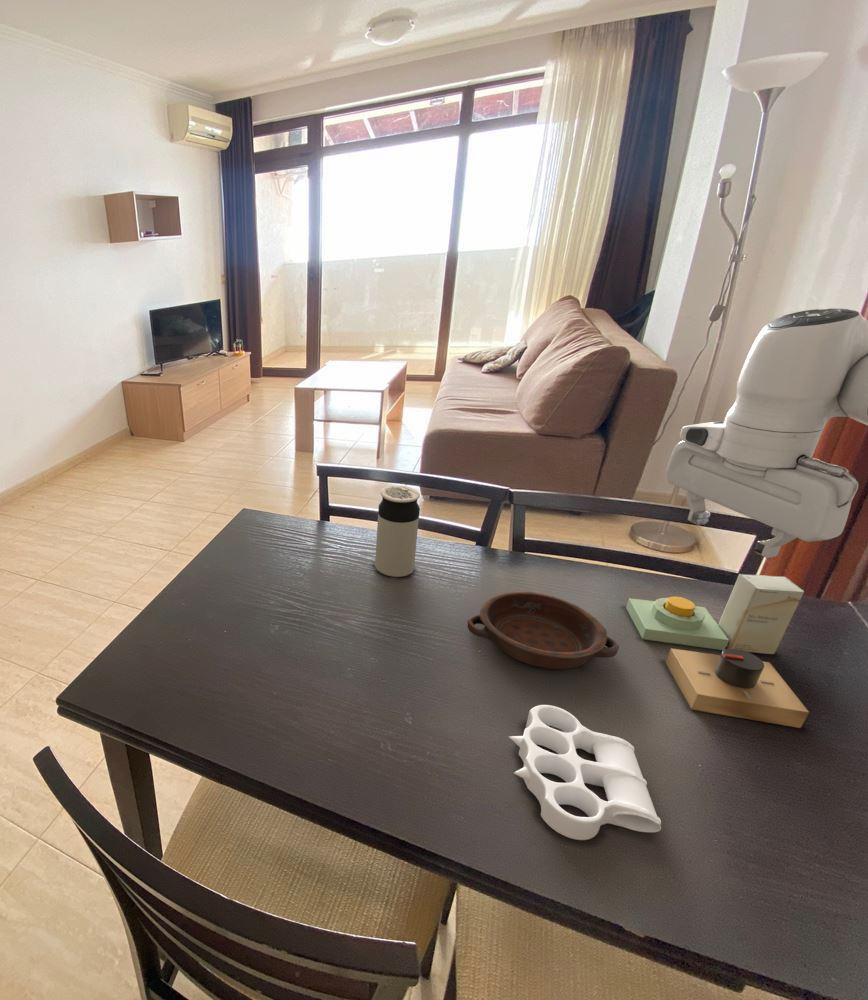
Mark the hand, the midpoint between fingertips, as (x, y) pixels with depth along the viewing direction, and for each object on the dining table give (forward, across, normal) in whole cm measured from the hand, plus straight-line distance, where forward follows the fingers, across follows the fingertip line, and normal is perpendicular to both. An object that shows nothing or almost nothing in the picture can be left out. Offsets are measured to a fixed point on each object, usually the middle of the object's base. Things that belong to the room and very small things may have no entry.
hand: (728, 537), depth 75 cm
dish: (+24, +10, +17) cm, 31 cm away
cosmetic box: (+24, +3, -14) cm, 28 cm away
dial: (+21, -6, -2) cm, 22 cm away
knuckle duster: (+24, -14, +29) cm, 40 cm away
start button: (+20, +9, -7) cm, 23 cm away
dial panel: (+24, -6, -2) cm, 24 cm away
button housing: (+24, +9, -7) cm, 26 cm away
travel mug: (+24, +37, +30) cm, 53 cm away
